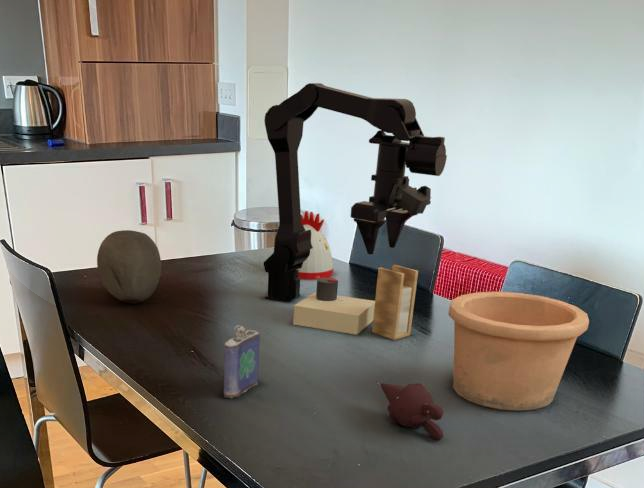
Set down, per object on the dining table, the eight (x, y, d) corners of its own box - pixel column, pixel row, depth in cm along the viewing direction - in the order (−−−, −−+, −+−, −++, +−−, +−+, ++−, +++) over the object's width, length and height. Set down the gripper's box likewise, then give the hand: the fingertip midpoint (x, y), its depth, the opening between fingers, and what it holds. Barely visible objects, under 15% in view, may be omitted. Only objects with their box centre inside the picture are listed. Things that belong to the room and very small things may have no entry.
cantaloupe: (175, 304, 173) (172, 234, 165) (115, 313, 166) (110, 240, 158) (146, 290, 183) (143, 222, 175) (89, 297, 176) (83, 227, 168)
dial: (313, 299, 166) (314, 279, 164) (320, 294, 169) (321, 275, 167) (332, 302, 164) (334, 282, 162) (339, 297, 168) (341, 277, 166)
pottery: (481, 361, 147) (495, 284, 140) (592, 395, 134) (613, 312, 127) (412, 389, 134) (423, 305, 126) (527, 430, 120) (547, 339, 113)
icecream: (360, 374, 121) (420, 417, 111) (399, 356, 123) (462, 397, 113) (363, 411, 126) (421, 455, 115) (401, 393, 128) (461, 435, 117)
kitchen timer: (315, 282, 194) (318, 218, 186) (268, 273, 200) (270, 211, 193) (342, 272, 204) (346, 211, 196) (297, 263, 210) (300, 204, 203)
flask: (233, 399, 127) (234, 335, 121) (218, 396, 128) (217, 332, 123) (261, 382, 134) (263, 321, 129) (246, 379, 135) (247, 318, 130)
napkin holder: (371, 332, 160) (378, 267, 154) (388, 328, 163) (395, 264, 157) (394, 340, 157) (401, 274, 150) (410, 335, 159) (418, 270, 153)
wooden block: (291, 324, 163) (292, 304, 161) (313, 309, 174) (314, 290, 171) (356, 334, 159) (358, 314, 157) (375, 318, 169) (377, 299, 167)
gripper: (404, 179, 145) (393, 265, 153) (448, 171, 158) (436, 250, 166) (353, 172, 151) (345, 255, 159) (399, 164, 164) (390, 241, 172)
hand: (381, 250), depth 164 cm, fingers open, 9 cm apart
